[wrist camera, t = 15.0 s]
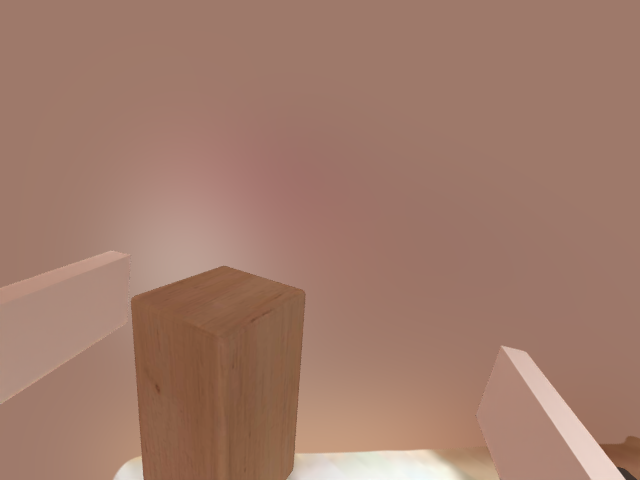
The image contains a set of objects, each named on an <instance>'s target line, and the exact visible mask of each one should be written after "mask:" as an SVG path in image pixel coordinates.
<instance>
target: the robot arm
mask: <svg viewBox="0 0 640 480" xmlns="http://www.w3.org/2000/svg"><path fill="white" fill-rule="evenodd" d="M130 259H131V255H129V254H125V253H121V252H116V251H113V250H112V251H108V252H105V253H102V254H99V255H97V256H93V257H90V258H87V259H85V260H82V261H79V262H76V263H73V264H70V265H67V266H64V267H61V268H58V269H55V270H52V271H49V272H46V273H43V274H40V275H37V276H34V277H31V278H28V279H25V280H22V281H19V282H16V283H13V284H11V285H7V286H4V287H2V288H0V404H2V403H3V402H5V401H6V400H8V399H10V398H11V397H13V396H14V395H16V394H17V393H19V392H20V391H22V390H23V389H25V388H27V387H28V386H30V385H31V384H33V383H34V382H36V381H37V380H39V379H41V378H42V377H44V376H45V375H47V374H48V373H50V372H51V371H53V370H54V369H56V368H58V367H59V366H61V365H62V364H64V363H65V362H66V361H68V360H70V359H71V358H73V357H75V356H76V355H78V354H79V353H81V352H82V351H84V350H85V349H87V348H88V347H90V346H91V345H93V344H94V343H96V342H98V341H99V340H101V339H102V338H104V337H105V336H107V335H109V334H110V333H112V332H113V331H115V330H116V329H118V328H119V327H121V326H122V325H124V324H126V323H127V318H128V300H129V299H128V298H129V280H130ZM476 418H477V421H478V423H479V426H480V428H481V431H482V433H483V436H484V439H485V442H486V444H487V447H488V449H489V452H490V454H491V457H492V460H493V462H494V465H495V467H496V470H497V472H498V475H499V478H500V480H637V479H636V478H635V477H633V476H632V475H631V474H630V473H629V472H628V471H627V470H625V469H623V468H619V467H616V466H615V465H614V464H613V463H612V461H611V460H610V459H609V458H608V456H607V455H606V454H605V452H604V451H603V450H602V449H601V447H600V446H599V445H598V443H597V442H596V441H595V440H594V438H593V437H592V436H591V435H590V433H589V432H588V431H587V429H586V428H585V427H584V426H583V424H582V423H581V422H580V420H579V419H578V418H577V417H576V415H575V414H574V413H573V411H572V410H571V409H570V408H569V406H568V405H567V404H566V402H565V401H564V400H563V399H562V397H561V396H560V395H559V394H558V393H557V391H556V390H555V388H554V387H553V386H552V385H551V383H550V382H549V381H548V380H547V378H546V377H545V376H544V374H543V373H542V372H541V370H540V369H539V368H538V367H537V365H536V364H535V363H534V362H533V360H532V359H531V358H530V356H529V355H528V354H527V353H526V352H525V351H522V350H517V349H513V348H509V347H505V346H501V347H500V350H499V353H498V355H497V358H496V361H495V364H494V366H493V369H492V372H491V375H490V377H489V380H488V383H487V386H486V389H485V391H484V394H483V397H482V400H481V402H480V406H479V408H478V411H477V413H476Z"/></svg>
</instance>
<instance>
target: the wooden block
mask: <svg viewBox="0 0 640 480" xmlns="http://www.w3.org/2000/svg"><path fill="white" fill-rule="evenodd" d="M304 308H305V292H304V291H303V290H301V289H298V288H295V287H292V286H288V285H285V284H282V283H279V282H275V281H272V280H268V279H266V278H262V277H259V276H256V275H253V274H250V273H246V272H243V271H240V270H236V269H233V268H230V267H227V266H221V267H218V268H216V269H213V270H210V271H207V272H204V273H201V274H198V275H195V276H192V277H189V278H186V279H183V280H180V281H177V282H174V283H172V284H168V285H165V286H163V287H159V288H156V289H153V290H151V291H148V292H145V293H142V294H139V295H136V296H134V297H133V298H132V300H131V310H132V324H133V337H134V351H135V366H136V378H137V393H138V407H139V421H140V434H141V448H142V463H143V477H144V480H286V479H287V477H288V476H289V475H290V473H291V472H292V471H293V464H294V450H295V436H296V435H295V434H296V422H297V421H296V420H297V407H298V392H299V379H300V365H301V364H300V363H301V350H302V336H303V322H304Z"/></svg>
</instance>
